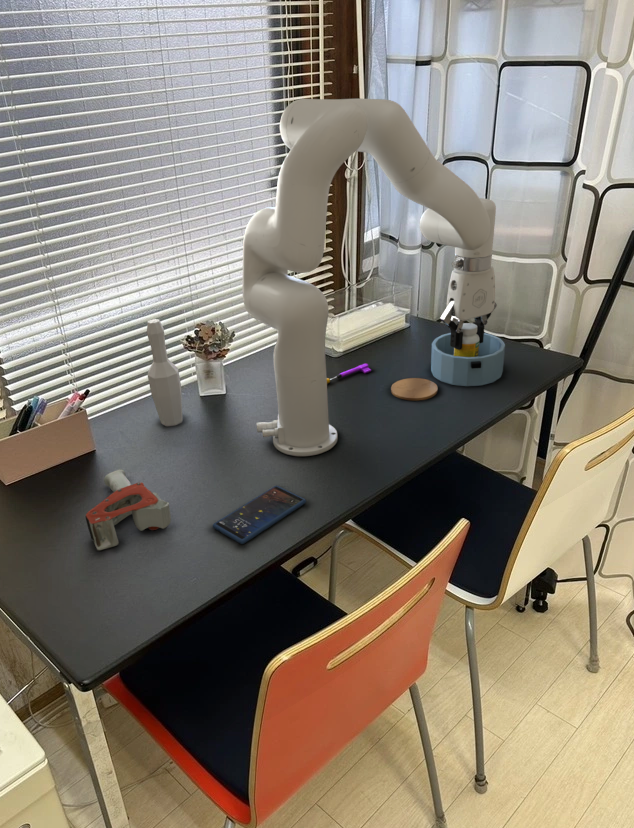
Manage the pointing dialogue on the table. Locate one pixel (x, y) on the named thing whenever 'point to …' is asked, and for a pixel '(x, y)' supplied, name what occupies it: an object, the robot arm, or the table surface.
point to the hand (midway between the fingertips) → (466, 343)
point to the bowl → (468, 362)
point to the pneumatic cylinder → (353, 371)
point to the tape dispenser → (125, 510)
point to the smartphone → (259, 514)
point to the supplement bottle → (468, 341)
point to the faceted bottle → (164, 378)
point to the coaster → (414, 389)
